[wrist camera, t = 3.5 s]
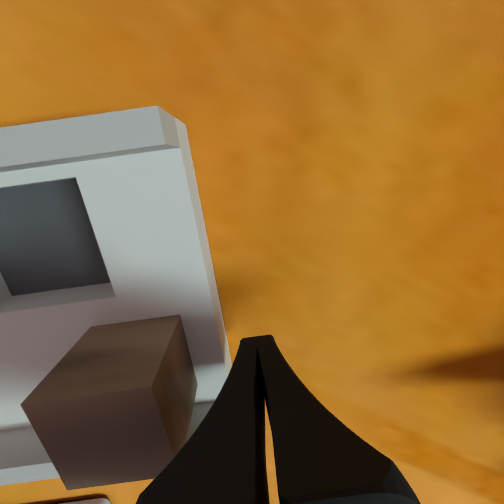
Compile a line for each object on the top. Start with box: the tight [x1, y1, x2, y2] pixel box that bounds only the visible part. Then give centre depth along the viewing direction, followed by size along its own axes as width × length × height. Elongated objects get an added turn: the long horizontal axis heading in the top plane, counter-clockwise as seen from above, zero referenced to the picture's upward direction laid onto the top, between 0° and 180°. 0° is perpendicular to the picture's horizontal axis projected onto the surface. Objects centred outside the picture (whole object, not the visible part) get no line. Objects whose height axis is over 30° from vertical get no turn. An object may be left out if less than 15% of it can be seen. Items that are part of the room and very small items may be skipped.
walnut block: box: [20, 314, 198, 490], centre depth 11 cm, size 4×4×4 cm
